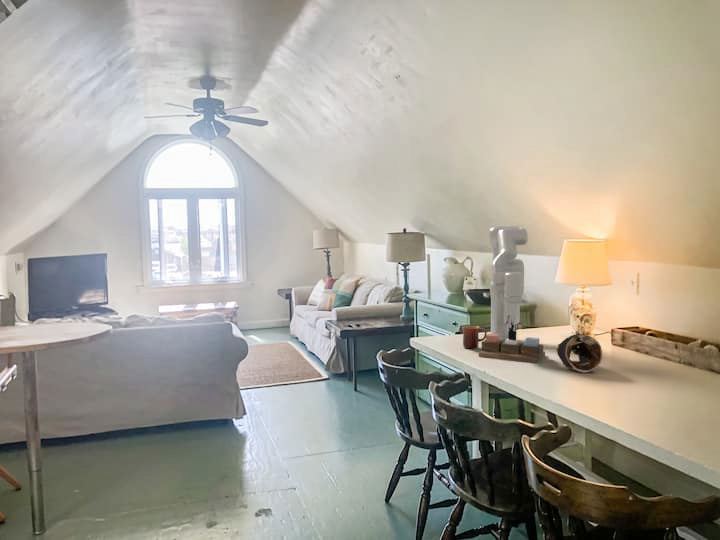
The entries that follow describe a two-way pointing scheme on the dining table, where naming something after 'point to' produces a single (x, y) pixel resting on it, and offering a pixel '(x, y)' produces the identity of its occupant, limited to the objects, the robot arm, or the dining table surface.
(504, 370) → the dining table surface
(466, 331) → the mug
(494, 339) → the brick key
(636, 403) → the dining table surface
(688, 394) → the dining table surface
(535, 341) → the slate key
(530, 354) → the keypad
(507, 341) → the ivory key
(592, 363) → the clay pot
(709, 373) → the dining table surface
